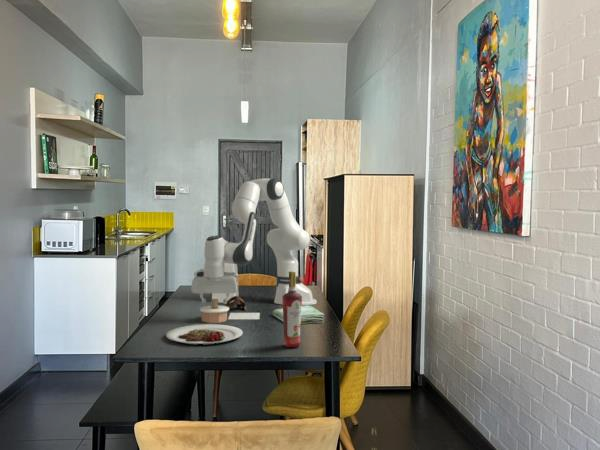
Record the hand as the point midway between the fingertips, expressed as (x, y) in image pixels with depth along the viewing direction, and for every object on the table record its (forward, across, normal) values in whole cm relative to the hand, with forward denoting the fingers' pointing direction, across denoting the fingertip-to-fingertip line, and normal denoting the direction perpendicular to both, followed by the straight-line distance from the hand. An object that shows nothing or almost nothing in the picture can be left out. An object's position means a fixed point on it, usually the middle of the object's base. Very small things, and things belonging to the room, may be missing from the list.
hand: (214, 303), depth 252 cm
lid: (+3, 0, 0) cm, 3 cm away
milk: (+8, -1, -50) cm, 51 cm away
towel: (+9, -38, -3) cm, 39 cm away
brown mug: (+8, -9, -24) cm, 26 cm away
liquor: (+8, -33, +43) cm, 55 cm away
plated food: (+9, +1, +28) cm, 29 cm away
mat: (+8, -13, -8) cm, 17 cm away
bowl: (+8, 0, 0) cm, 8 cm away
